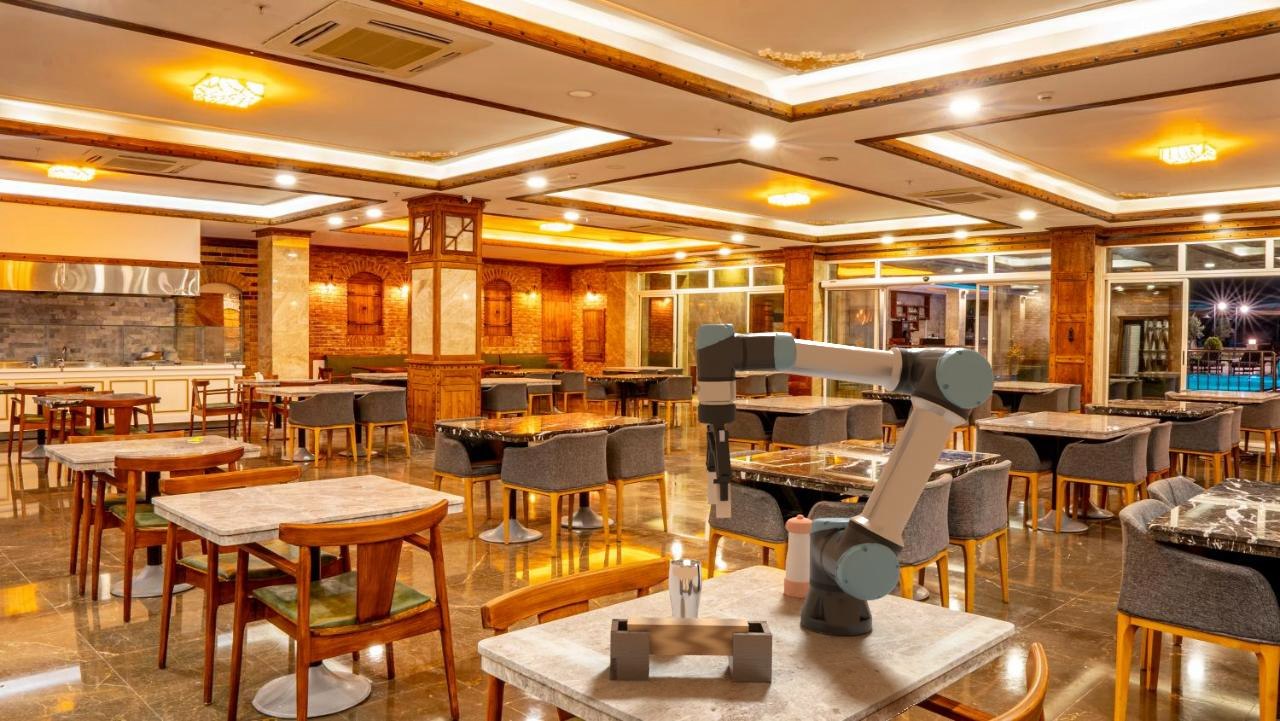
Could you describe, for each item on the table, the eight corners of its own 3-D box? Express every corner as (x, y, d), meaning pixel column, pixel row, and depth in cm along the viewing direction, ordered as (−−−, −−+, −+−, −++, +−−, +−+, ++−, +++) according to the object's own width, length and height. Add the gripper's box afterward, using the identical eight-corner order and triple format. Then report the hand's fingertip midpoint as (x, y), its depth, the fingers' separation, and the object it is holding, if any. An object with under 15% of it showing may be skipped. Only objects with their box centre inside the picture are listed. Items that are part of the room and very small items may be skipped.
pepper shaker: (783, 597, 209) (785, 517, 209) (783, 588, 216) (785, 511, 216) (814, 598, 208) (816, 518, 208) (813, 590, 215) (815, 512, 215)
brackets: (765, 665, 165) (766, 620, 165) (771, 682, 157) (772, 635, 157) (611, 663, 165) (612, 618, 165) (610, 679, 157) (610, 633, 157)
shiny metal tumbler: (699, 640, 178) (700, 567, 178) (665, 637, 180) (666, 565, 179) (703, 629, 185) (704, 558, 185) (671, 626, 187) (671, 557, 186)
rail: (745, 648, 163) (746, 618, 163) (748, 655, 159) (748, 625, 159) (627, 646, 163) (627, 617, 163) (627, 654, 159) (627, 624, 159)
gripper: (691, 398, 184) (693, 499, 184) (704, 408, 159) (707, 524, 159) (726, 397, 184) (729, 498, 185) (746, 407, 159) (748, 523, 160)
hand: (719, 510), depth 172 cm, fingers open, 13 cm apart
